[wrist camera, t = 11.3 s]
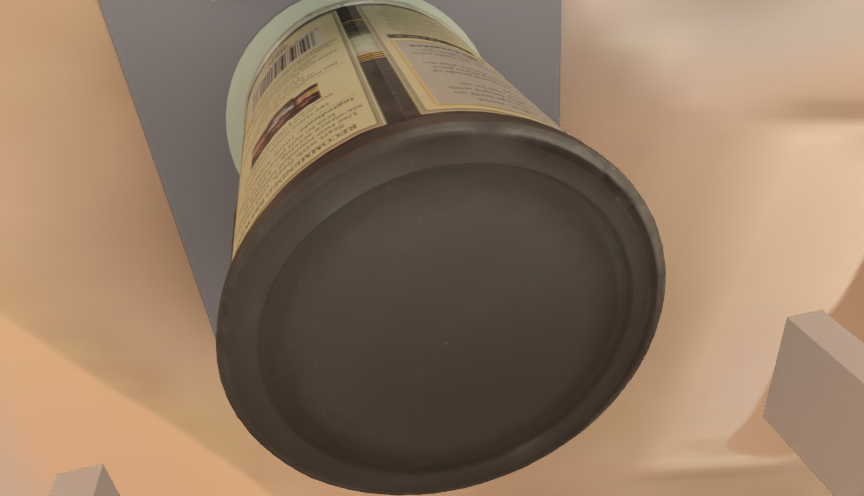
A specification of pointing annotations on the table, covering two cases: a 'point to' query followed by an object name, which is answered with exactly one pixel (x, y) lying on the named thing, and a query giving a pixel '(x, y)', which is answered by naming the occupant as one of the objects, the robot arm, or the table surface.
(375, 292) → the coffee can
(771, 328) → the table surface
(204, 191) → the holder
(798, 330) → the robot arm
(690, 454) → the table surface
